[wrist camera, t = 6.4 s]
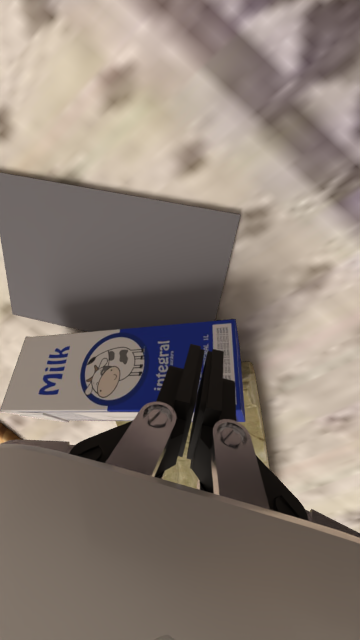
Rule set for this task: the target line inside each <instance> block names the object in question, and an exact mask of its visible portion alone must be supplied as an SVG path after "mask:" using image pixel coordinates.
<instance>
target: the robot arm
mask: <svg viewBox="0 0 360 640" xmlns="http://www.w3.org/2000/svg"><path fill="white" fill-rule="evenodd" d="M204 351H205V350H203V349H201V346H198V345H194V344H190V347H189V351H188V354H187V358H186V362H185V365H184V369H182V368H178V367H174V366H169V368H168V370H167V373H166V376H165V378H164V381H163V384H162V387H161V389H160V392H159V395H158V397H157V400H156V402H150V403H148V404H146V405H144V406H143V407H142V408H141V409H140V411H139V412H138V414H137V416H136V417H135V419H134V420H133V421H130V422H128V423H125V424H123V425H120V426H118V427H115V428H113V429H110V430H108V431H105V432H103V433H100V434H98V435H95V436H93V437H90V438H88V439H86V440H83V441H81V442H80V443H78V444H76V445H69V442H63V441H41V440H18V439H17V440H9V441H6V442H4V443H1V444H0V640H360V533H358V532H356V531H354V530H352V529H350V528H348V527H346V526H344V525H342V524H340V523H338V522H336V521H334V520H332V519H331V518H329V517H327V516H325V515H323V514H321V513H319V512H317V511H315V510H313V509H311V510H310V512H309V511H307V510H305V509H304V507H303V506H302V504H301V503H300V502H299V500H298V499H297V498H296V497H295V496H294V495H293V494H292V493H291V492H290V491H289V490H288V489H287V487H286V486H285V485H284V484H283V483H282V482H281V481H280V480H279V479H278V478H277V477H276V476H275V475H274V474H273V473H272V472H271V471H270V469H269V468H268V467H267V466H266V465H265V464H264V463H263V462H262V461H261V460H260V459H259V458H258V457H257V456H256V454H255V450H254V447H253V443H252V439H251V436H250V434H249V432H248V430H247V429H246V428H245V427H244V426H243V425H242V424H240V423H238V422H236V396H235V381H233V380H228V379H224V378H223V360H224V351H220V350H216V349H213V350H212V351H208V352H207V356H206V361H205V365H204V369H203V373H202V377H201V381H200V375H201V369H202V363H203V357H204ZM199 381H200V385H199ZM198 387H199V389H198ZM197 392H198V393H197ZM194 408H195V410H194ZM193 413H194V416H193ZM192 417H193V422H192V428H191V434H190V440H189V446H188V452H187V459H190V460H191V464H190V469H192V470H193V472H194V473H195V475H196V476H197V477H198V479H197V489H195V488H192V487H188V486H185V485H181V484H178V483H174V482H170V481H167V480H163V478H164V476H165V472H166V470H167V469H169V468H171V467H172V466H174V465H176V462H177V458H178V456H179V457H183V453H184V449H185V445H186V441H187V437H188V433H189V429H190V425H191V421H192Z"/></svg>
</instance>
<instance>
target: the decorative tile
mask: <svg viewBox="0 0 360 640" xmlns="http://www.w3.org/2000/svg"><path fill="white" fill-rule="evenodd" d="M241 371H242V383H243V396H244V408H245V420H246V421H245V422H238V423H240V424H242V425H243V426H244V427H245V428H246V429H247V430H248V432H249V434H250V436H251V439H252V443H253V447H254V450H255V454H256V456H257V457H258V458H259V459H260V460H261V461H262V462H263V463H264V464H265V465H266V466H267V467H268V468H269V461H268V454H267V448H266V441H265V432H264V426H263V420H262V413H261V408H260V401H259V395H258V389H257V383H256V377H255V372H254V369H253V365H252V363H251V362H241ZM128 422H130V421H116V424H117V426H120V425H123V424H125V423H128ZM191 428H192V422H191V425H190V429H189V433H188V437H187V441H186V445H185V449H184V453H183V457H179V456H178V458H177V462H176V465H174V466H172V467H171V468H169V469H167V470H166V472H165V476H164V478H163V480H167V481H170V482H174V483H178V484H181V485H185V486H188V487H192V488H195V489H197V479H198V477H197V476H196V475H195V473H194V472H193V470H192V469H190V464H191V460H190V459H187V452H188V446H189V440H190V434H191ZM269 469H270V468H269Z"/></svg>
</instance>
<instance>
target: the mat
mask: <svg viewBox="0 0 360 640" xmlns="http://www.w3.org/2000/svg"><path fill="white" fill-rule="evenodd" d="M239 219H240V214H234V213H228V212H223V211H217V210H211V209H206V208H200V207H194V206H188V205H183V204H177V203H171V202H166V201H160V200H154V199H148V198H143V197H137V196H131V195H126V194H120V193H114V192H109V191H103V190H97V189H91V188H86V187H80V186H74V185H69V184H63V183H57V182H51V181H46V180H40V179H34V178H29V177H23V176H17V175H12V174H6V173H0V237H1V243H2V250H3V256H4V262H5V269H6V275H7V281H8V288H9V294H10V300H11V307H12V313H13V314H14V315H18V316H22V317H27V318H31V319H35V320H40V321H44V322H48V323H52V324H57V325H61V326H65V327H70V328H74V329H78V330H83V331H87V332H94V331H105V330H117V329H128V328H139V327H151V326H162V325H173V324H185V323H196V322H207V321H215V319H216V314H217V310H218V306H219V302H220V298H221V294H222V290H223V285H224V281H225V277H226V273H227V269H228V265H229V261H230V256H231V252H232V248H233V244H234V240H235V236H236V231H237V227H238V223H239Z"/></svg>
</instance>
